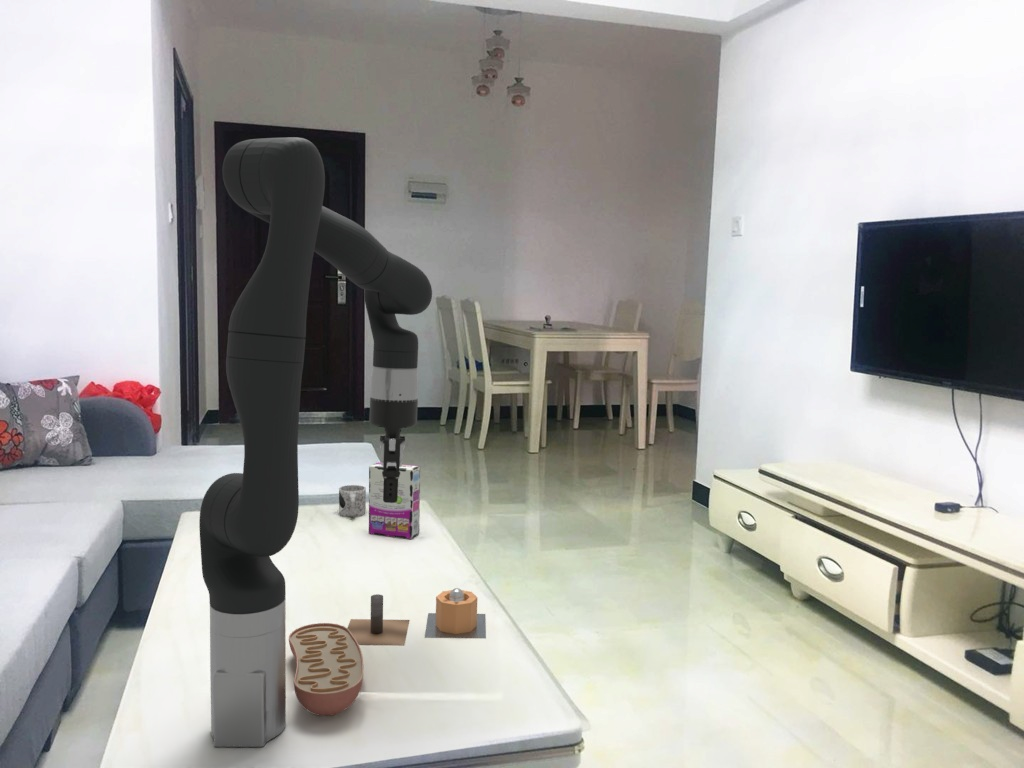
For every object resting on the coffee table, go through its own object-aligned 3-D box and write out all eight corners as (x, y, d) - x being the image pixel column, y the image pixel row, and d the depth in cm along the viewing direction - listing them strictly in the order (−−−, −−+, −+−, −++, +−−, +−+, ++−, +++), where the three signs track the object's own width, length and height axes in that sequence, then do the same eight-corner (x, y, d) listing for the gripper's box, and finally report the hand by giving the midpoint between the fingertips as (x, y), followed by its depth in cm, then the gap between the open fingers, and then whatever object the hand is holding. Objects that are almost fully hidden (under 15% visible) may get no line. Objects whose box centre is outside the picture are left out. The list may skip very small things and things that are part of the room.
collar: (480, 630, 135) (481, 601, 135) (444, 635, 133) (445, 606, 132) (466, 615, 141) (467, 588, 141) (431, 620, 138) (432, 592, 138)
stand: (404, 651, 129) (404, 608, 128) (340, 650, 128) (341, 608, 128) (409, 625, 139) (410, 586, 138) (350, 624, 138) (351, 585, 138)
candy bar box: (420, 533, 191) (421, 465, 189) (411, 539, 186) (412, 469, 184) (377, 528, 194) (377, 461, 192) (367, 534, 189) (368, 465, 187)
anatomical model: (287, 656, 126) (287, 625, 126) (351, 649, 129) (352, 619, 129) (295, 733, 105) (295, 697, 104) (372, 723, 108) (373, 687, 107)
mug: (338, 510, 209) (339, 485, 208) (365, 509, 210) (365, 484, 209) (338, 521, 199) (339, 495, 198) (366, 520, 200) (366, 494, 199)
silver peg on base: (485, 644, 132) (487, 600, 132) (424, 643, 132) (425, 599, 131) (485, 619, 142) (486, 578, 141) (428, 618, 142) (428, 577, 141)
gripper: (418, 401, 122) (414, 507, 124) (416, 391, 136) (413, 486, 138) (368, 400, 121) (364, 506, 123) (371, 390, 135) (368, 485, 137)
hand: (390, 495), depth 130 cm, fingers open, 8 cm apart
